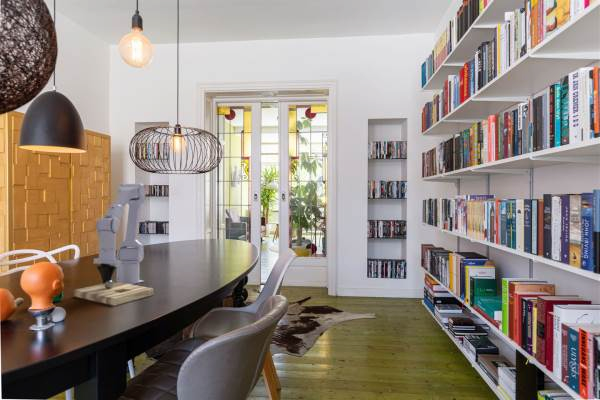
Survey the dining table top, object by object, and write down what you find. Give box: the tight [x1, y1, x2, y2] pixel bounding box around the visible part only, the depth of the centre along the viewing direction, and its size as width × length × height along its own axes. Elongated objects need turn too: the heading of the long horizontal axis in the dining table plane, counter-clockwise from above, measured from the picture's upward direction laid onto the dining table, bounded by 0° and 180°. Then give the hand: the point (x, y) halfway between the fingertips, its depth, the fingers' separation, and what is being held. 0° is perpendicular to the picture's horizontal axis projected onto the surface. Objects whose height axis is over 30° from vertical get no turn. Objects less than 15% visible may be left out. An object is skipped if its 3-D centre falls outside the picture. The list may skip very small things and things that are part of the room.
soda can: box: [53, 266, 64, 303], centre depth 128 cm, size 5×5×12 cm
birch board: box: [74, 280, 154, 306], centre depth 135 cm, size 24×16×2 cm, turn 61°
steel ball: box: [104, 279, 114, 289], centre depth 137 cm, size 3×3×3 cm
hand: (106, 283), depth 137 cm, fingers closed, pressing on steel ball
